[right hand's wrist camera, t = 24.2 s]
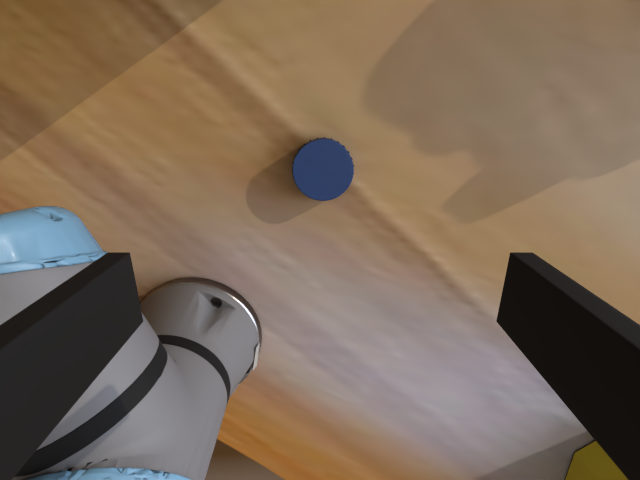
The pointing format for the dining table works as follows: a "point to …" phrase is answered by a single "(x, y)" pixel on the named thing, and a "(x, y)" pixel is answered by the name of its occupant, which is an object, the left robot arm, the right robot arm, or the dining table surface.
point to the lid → (323, 169)
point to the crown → (593, 465)
